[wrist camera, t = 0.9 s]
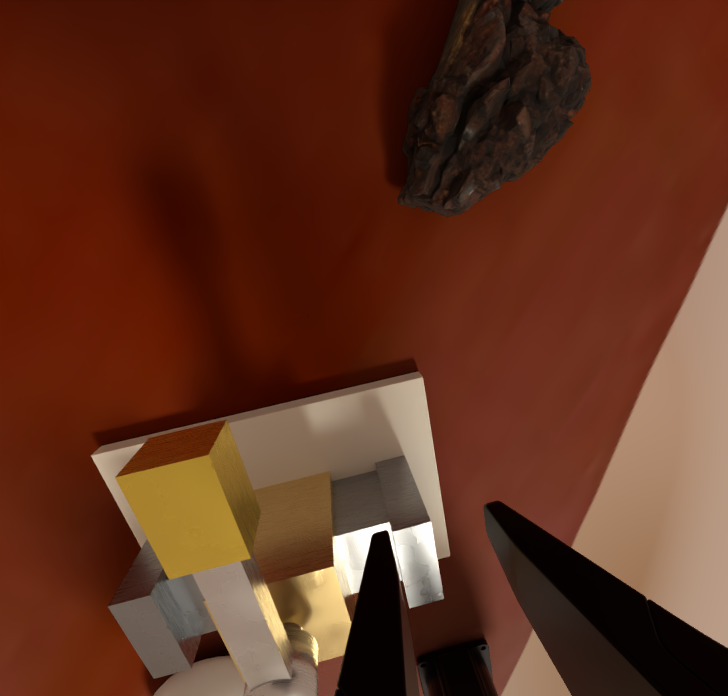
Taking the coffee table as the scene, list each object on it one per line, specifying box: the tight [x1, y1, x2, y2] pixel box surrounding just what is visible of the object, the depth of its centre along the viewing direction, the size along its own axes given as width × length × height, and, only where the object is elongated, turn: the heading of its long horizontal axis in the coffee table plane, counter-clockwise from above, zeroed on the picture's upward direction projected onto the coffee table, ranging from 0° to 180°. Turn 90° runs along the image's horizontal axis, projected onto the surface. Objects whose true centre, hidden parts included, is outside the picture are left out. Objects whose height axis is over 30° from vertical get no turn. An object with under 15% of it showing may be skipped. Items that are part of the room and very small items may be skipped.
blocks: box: [108, 455, 444, 683], centre depth 20 cm, size 6×16×7 cm, turn 101°
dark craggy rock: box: [398, 0, 591, 217], centre depth 14 cm, size 18×7×6 cm, turn 160°
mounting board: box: [91, 371, 450, 560], centre depth 23 cm, size 15×20×1 cm
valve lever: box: [115, 420, 318, 696], centre depth 13 cm, size 14×3×3 cm, turn 11°
